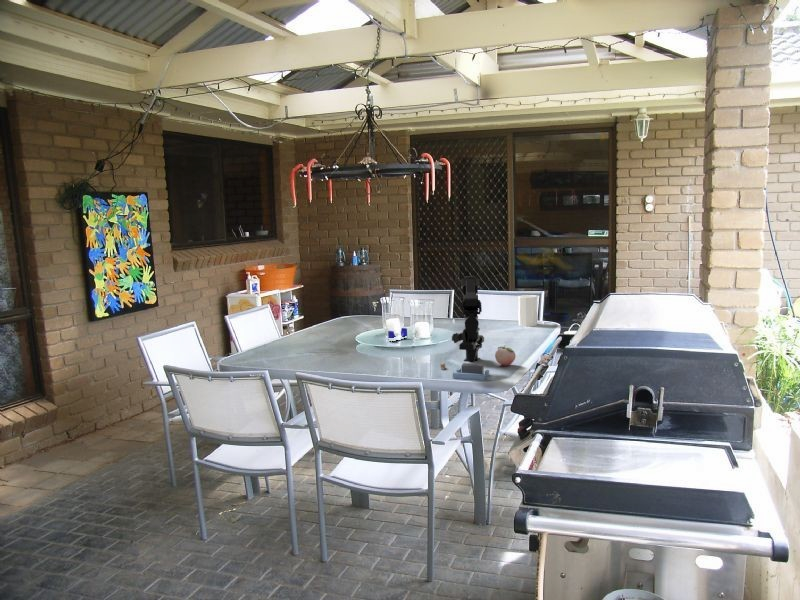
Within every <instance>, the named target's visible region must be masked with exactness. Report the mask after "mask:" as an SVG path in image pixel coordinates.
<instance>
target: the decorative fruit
mask: <svg viewBox="0 0 800 600" xmlns="http://www.w3.org/2000/svg"><path fill="white" fill-rule="evenodd" d="M494 357H495V358H494V359H495V360H496V362H497V364H499V365H501V366H503V367H508V366H510V365H512V364H513V363H514V361H515V360H516V352H515V351H514V350H513V349H512V348H510V347H506V346H498V347H497V350H496V351H495V353H494Z"/></svg>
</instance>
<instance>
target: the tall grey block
mask: <svg viewBox="0 0 800 600" xmlns="http://www.w3.org/2000/svg"><path fill="white" fill-rule="evenodd" d="M484 368H485V364H484V363H467V362H465V363H462V364H461V373H471V374H485V369H484Z"/></svg>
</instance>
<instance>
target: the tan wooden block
mask: <svg viewBox="0 0 800 600" xmlns="http://www.w3.org/2000/svg"><path fill="white" fill-rule="evenodd" d="M445 369H446V362H442V363H441V364H440V370H441V371H442V370H445Z"/></svg>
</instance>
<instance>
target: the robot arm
mask: <svg viewBox="0 0 800 600" xmlns="http://www.w3.org/2000/svg"><path fill="white" fill-rule="evenodd" d="M479 288H480V279H479V278H478V277H476V276H474V275H471V276H464V277H463V278H461V279H460V289H462V293H463V300H462V301H461V310H462V311H461V315H463V316H464V329H463V330H462V332H455V333H452V336H451V341H453V343H454V344H456V343H458V342H461V341H462V342H461V343H460V344H459V345H458V346H459V347H458V349H459V350H465V359H463V362H471V363H475V361H477V362H478V361H479V360H481V357H479V351H480V349H481V348H483V343H484V342H485V336H483V334H481V335H480V334H479V331H480V327H479V315H481V313H482V312H483V309H482V302H481V300H480V299H479V296H478V292H479V290H478V289H479Z"/></svg>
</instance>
